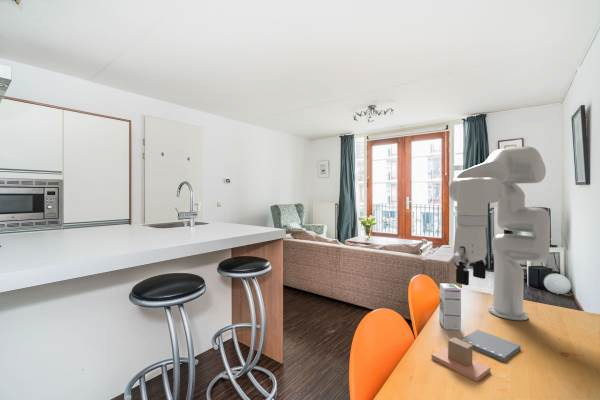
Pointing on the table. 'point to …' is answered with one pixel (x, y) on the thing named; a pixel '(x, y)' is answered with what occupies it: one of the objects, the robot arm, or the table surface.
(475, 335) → the grey dotted square slab
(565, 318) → the table surface
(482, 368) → the pink slab with block
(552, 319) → the table surface
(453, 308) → the syrup box
